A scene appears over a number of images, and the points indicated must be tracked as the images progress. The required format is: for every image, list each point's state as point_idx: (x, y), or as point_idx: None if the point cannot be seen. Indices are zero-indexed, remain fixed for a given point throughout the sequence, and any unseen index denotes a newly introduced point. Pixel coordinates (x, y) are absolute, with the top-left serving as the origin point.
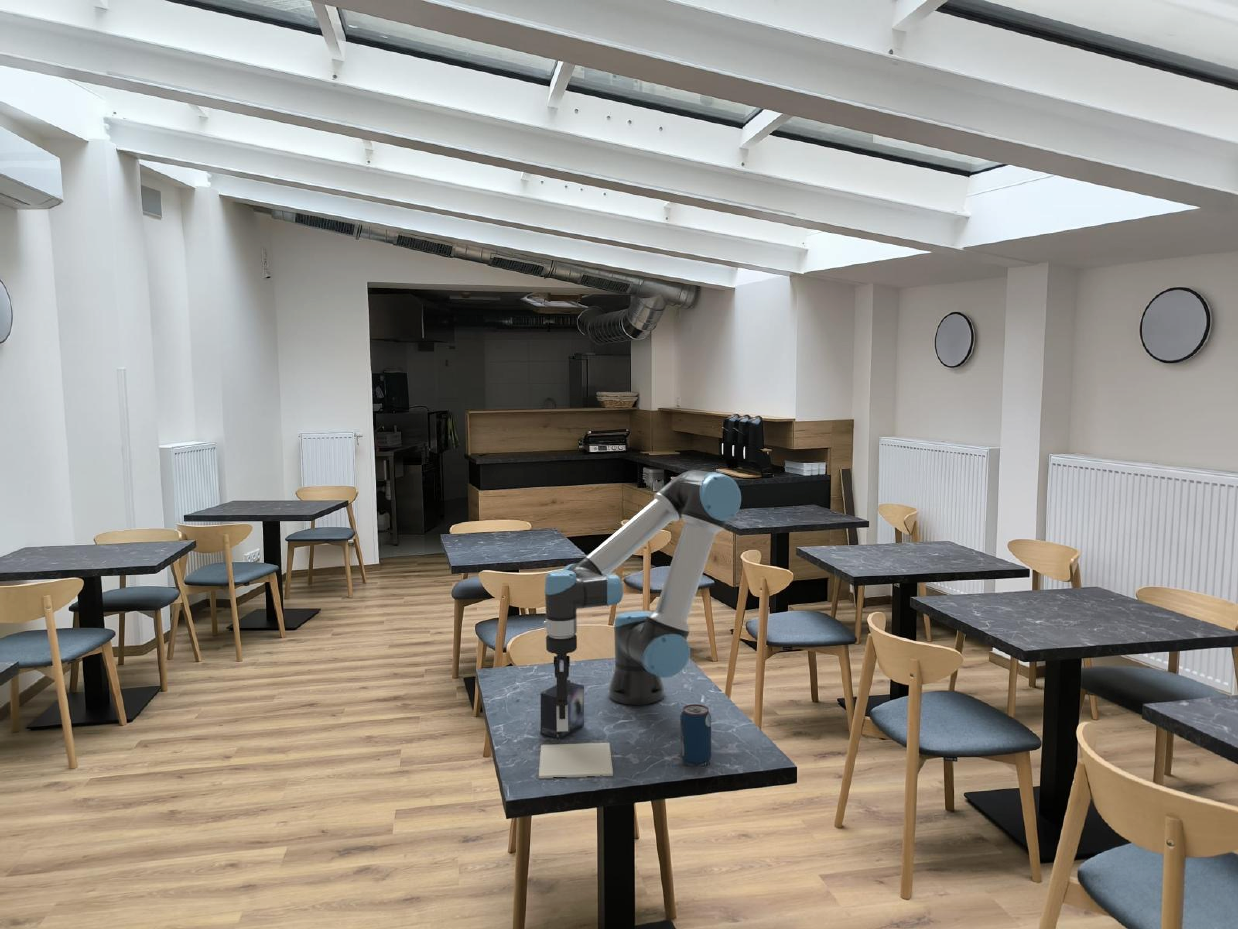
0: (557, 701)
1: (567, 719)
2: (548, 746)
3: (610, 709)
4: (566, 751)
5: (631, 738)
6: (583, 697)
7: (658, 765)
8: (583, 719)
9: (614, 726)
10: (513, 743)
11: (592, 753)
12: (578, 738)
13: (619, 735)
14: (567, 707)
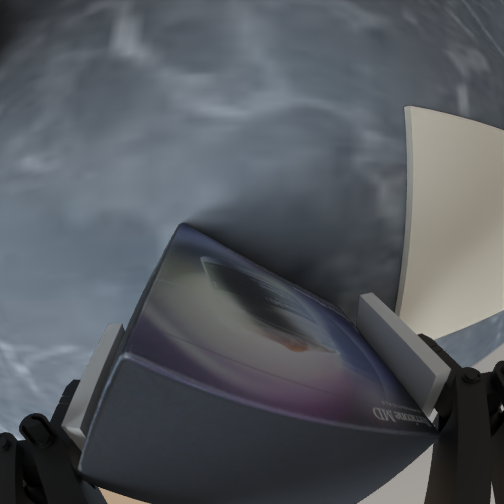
0: (497, 414)
1: (402, 323)
2: None
3: (5, 126)
4: (450, 268)
5: (337, 12)
6: (169, 287)
7: (484, 20)
8: (186, 232)
9: (196, 67)
10: None
11: (473, 181)
12: (336, 235)
13: (308, 49)
14: (440, 360)
